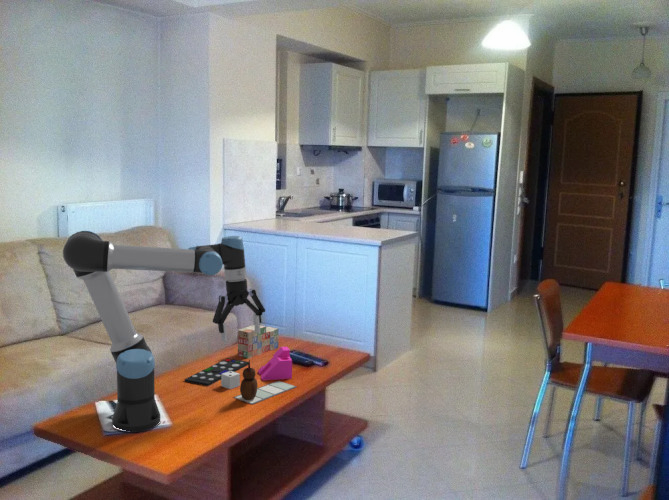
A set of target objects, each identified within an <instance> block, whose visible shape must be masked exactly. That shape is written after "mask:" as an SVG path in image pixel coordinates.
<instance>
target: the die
mask: <svg viewBox="0 0 669 500" xmlns="http://www.w3.org/2000/svg"><path fill="white" fill-rule="evenodd" d="M240 375H241V374H240V373H239V372H237V371H236V372H233V371H229V372H226V373H223V374H221V382H220V384H221V386H220V387H223V388H225V389H229V390H232V389H235V388H237V387H240V386H241V376H240Z"/></svg>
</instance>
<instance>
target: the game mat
mask: <svg viewBox="0 0 669 500" xmlns="http://www.w3.org/2000/svg"><path fill="white" fill-rule="evenodd" d="M295 388H297V385H296V386H295V385H293V384H290V383H287V382H283V381H280V380H277V381H276V380H275V381H273V382H271V383H268V384H265V385H262V386H260V387H257V393H256V396H255V398H253V399H251V400H246V399H244V398H242V395H241V393H240V394H238V395H235V396H233V397H232V398H234V399H236V400H239V401H241V402H244V403H246V404H250V405H251V406H252V405H255V404H258V403H260V402H263V401H265V400H268V399H270V398H273V397H275V396H278V395H281V394H283V393H285V391H286V392H288V391H290V390H293V389H295Z"/></svg>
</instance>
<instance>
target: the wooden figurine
mask: <svg viewBox="0 0 669 500" xmlns="http://www.w3.org/2000/svg"><path fill="white" fill-rule="evenodd" d="M248 362H249V363H248V365H247V366H248V367H245V368H244V369H243V370H242V377H243V379H242V380H241V381H240V386H239V390H240V394H241V395H242V398H244V399H246V400H251V399H253V398H255V396H256V393H257V388H258V381H257V379H256V378H255V377H256V370H255V368H254V367H251V362H250V360H248Z"/></svg>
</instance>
